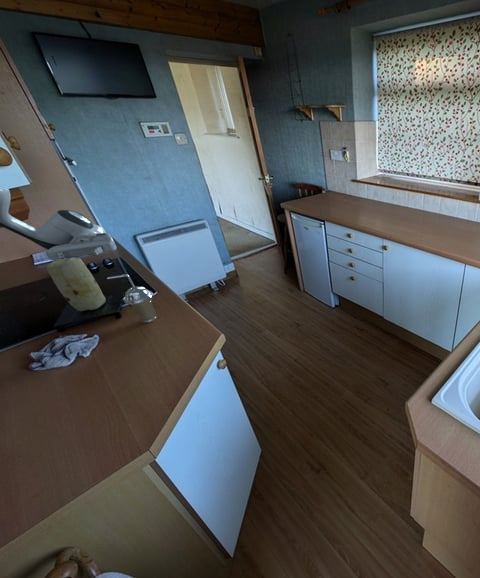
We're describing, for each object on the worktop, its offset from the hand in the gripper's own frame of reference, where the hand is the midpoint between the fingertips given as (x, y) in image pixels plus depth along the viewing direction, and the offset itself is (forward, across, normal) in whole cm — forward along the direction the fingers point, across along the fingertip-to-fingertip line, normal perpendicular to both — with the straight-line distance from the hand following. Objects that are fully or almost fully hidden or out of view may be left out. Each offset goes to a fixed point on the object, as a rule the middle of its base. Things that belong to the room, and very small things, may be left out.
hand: (78, 256), depth 112 cm
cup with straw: (+27, +18, +20) cm, 38 cm away
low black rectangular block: (+13, 0, +19) cm, 23 cm away
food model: (+13, 0, +16) cm, 21 cm away
